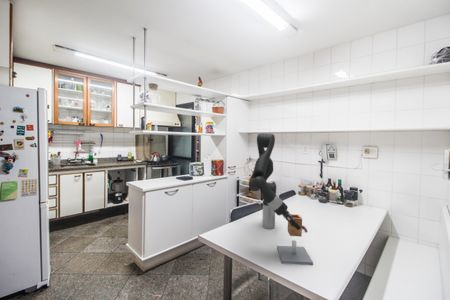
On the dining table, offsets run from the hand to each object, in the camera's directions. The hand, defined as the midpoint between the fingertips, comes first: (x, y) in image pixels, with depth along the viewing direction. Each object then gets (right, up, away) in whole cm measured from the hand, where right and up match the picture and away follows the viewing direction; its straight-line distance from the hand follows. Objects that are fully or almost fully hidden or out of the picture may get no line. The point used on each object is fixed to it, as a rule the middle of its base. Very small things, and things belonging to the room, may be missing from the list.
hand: (297, 226), depth 120 cm
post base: (-2, -17, +1) cm, 17 cm away
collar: (-2, -4, 0) cm, 5 cm away
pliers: (+15, -16, +41) cm, 47 cm away
